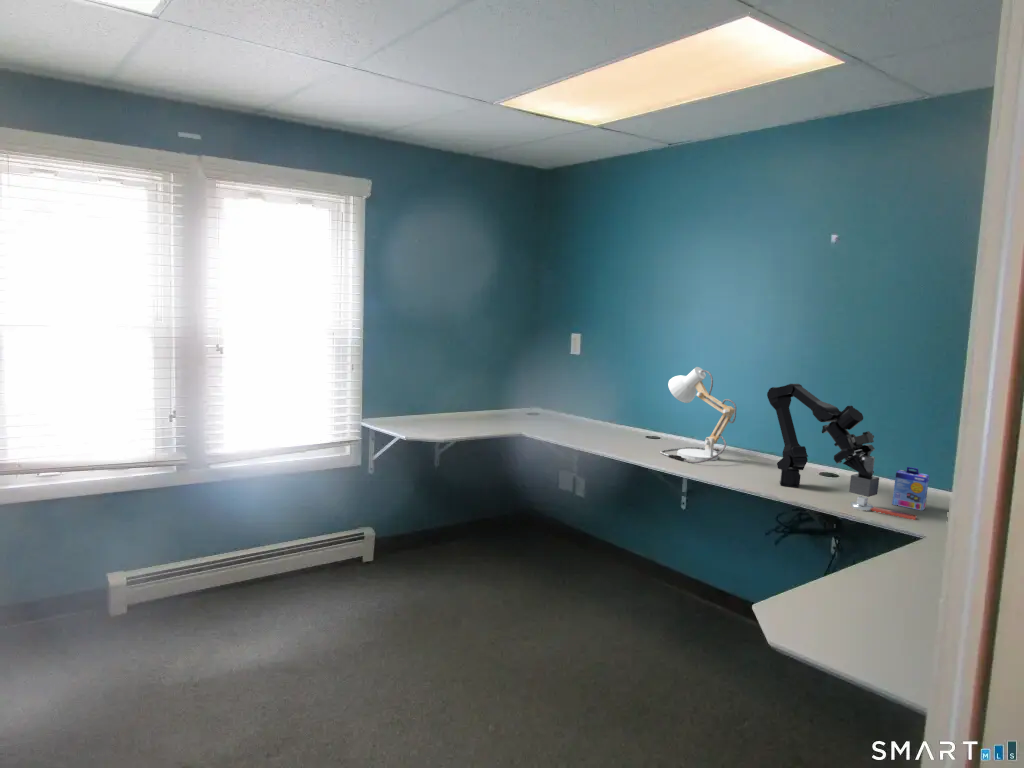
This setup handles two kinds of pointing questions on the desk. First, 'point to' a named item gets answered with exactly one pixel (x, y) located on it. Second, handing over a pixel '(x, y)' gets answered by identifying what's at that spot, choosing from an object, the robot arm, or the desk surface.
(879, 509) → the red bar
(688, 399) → the desk lamp
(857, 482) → the grey cylinder on block
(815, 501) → the desk surface
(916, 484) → the ink cartridge box
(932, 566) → the desk surface
